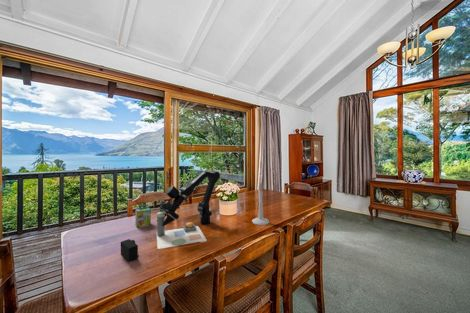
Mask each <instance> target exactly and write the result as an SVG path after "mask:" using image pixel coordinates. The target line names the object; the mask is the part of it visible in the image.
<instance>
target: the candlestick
mask: <svg viewBox="0 0 470 313" xmlns="http://www.w3.org/2000/svg"><path fill="white" fill-rule="evenodd" d="M263 193H264V191H263V182H259V191H258V194H259V199H258V215H257V216H258V217H255V218H253V219H252V220H251V223H252V222H253V223H252V224H254V225H256V224H257V226H267V225H269V224H270V221H269V219H268V218H264V208H263V206H264V205H263ZM268 223H269V224H268ZM266 224H267V225H266Z"/></svg>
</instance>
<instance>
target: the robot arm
mask: <svg viewBox="0 0 470 313" xmlns="http://www.w3.org/2000/svg"><path fill="white" fill-rule="evenodd" d="M206 178H207V179H208V183H207V186H206V190H205V192H204V195H203V199H202V200H201V202H198V205H197V212H198V213H199V215H200V217H199V223H200V224H201V225H211V224H212V223H211V216H212V214H213V212H211V210H210V200H211V198H212V196H213V195H212V194H213V191H214V188H215V185H216V183H217V182H219V180H220V178H221V174H220V172H219V171H217V170H216V171H215V170H211V171H206V170H203V171H202V172H200V174H199V175H198V176H196V177H195V178H194V179H193V180H192V181H191V182H190V183H187V184H186V185H183V186H182V187H180V188H179V189H177V188H176V186H175V185H171V186H169V187H168V188H167V189H166V190H165V192H164V194H165V195H166V196H168V197H169V198H170V199H171V200H172V201H168V200H166V201H165V200H161V201H160V203H159V206H160V207H159V208H158V209H159V212H165V217H166V218H165V221H164V222H163V224H162V226H165V227H166V225H168V224H170V223H172V222H174V221H178V219H180V218H179V217H180V215H179V214H178V213H176V212H177V210H178V209H180V207H181V205H182V204H183V202H185V203H187V202H188V198H187V197H190V196H191V195H192V194H193V192H194V191H195V189H196V187H198V186H199V185H200V183H202V182H203V181H204V180H205V179H206Z"/></svg>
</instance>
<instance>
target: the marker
mask: <svg viewBox="0 0 470 313" xmlns="http://www.w3.org/2000/svg"><path fill="white" fill-rule="evenodd" d="M165 217H166V216H165V212H160V211H159V212H156V237H157V236H159V237H161V236H164V235H165V231H166V230H165V229H166V228H165V227H166V225H165V226H162V224H163V222H164V221H165V219H166V218H165Z"/></svg>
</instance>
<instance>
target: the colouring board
mask: <svg viewBox="0 0 470 313" xmlns="http://www.w3.org/2000/svg"><path fill="white" fill-rule="evenodd" d="M195 227H196V231H190V232H185V231H184V229H183V227H182V228H175V229H168V230H165V235H164V236H161V237H159V236H157V235H156V243H157V244H156V246H157V250H160V249H166V248H171V247H178V246H182V245H187V244H194V243H198V242H199V243H204V242H207V238H206V236H205V235H204V233H203V232H202V230H201V228H200V227H199V226H198V225H195Z"/></svg>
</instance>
